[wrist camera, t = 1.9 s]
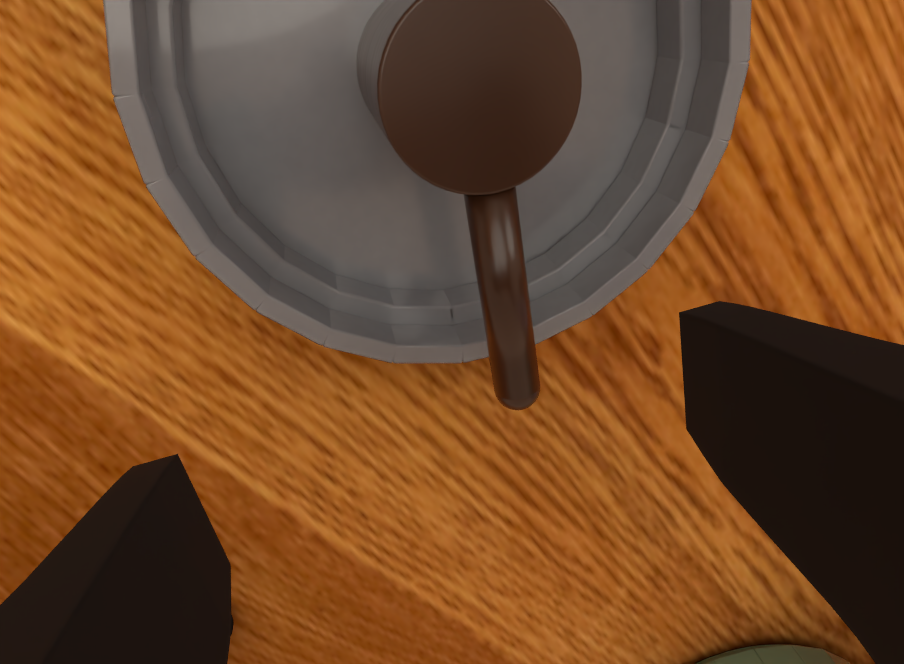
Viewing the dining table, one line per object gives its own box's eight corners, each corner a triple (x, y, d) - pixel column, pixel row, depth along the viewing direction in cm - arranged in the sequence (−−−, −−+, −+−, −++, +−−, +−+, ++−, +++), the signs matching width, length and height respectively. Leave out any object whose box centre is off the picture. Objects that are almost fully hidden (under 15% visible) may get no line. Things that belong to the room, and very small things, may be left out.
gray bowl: (679, -321, 15) (763, -393, 12) (686, 258, 20) (744, 296, 18) (37, -230, 13) (-30, -288, 11) (239, 361, 19) (230, 420, 16)
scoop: (497, -32, 16) (574, -46, 11) (538, 310, 20) (607, 400, 15) (340, -3, 15) (356, -5, 11) (412, 340, 19) (445, 440, 15)
